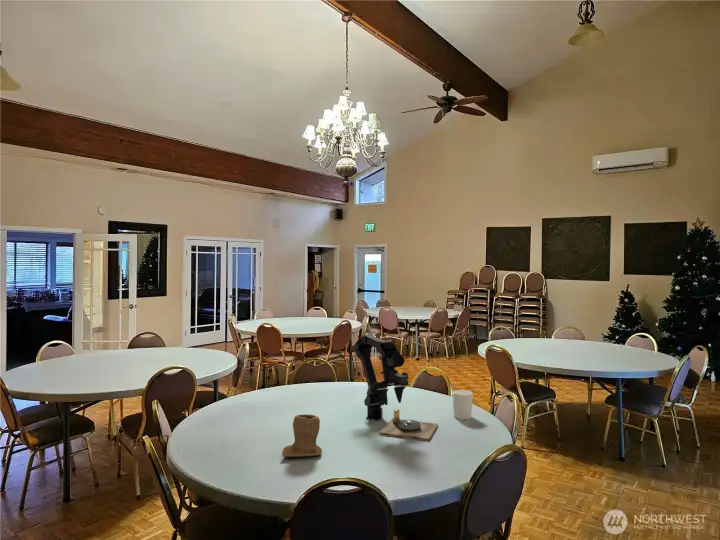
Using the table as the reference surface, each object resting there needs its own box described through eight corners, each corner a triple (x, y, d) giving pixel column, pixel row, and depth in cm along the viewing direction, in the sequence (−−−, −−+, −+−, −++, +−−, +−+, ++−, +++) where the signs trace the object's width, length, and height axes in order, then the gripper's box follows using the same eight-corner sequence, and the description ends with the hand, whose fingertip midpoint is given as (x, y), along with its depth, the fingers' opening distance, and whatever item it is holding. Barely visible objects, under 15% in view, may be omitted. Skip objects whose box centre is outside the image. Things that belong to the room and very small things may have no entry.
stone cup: (321, 447, 187) (321, 410, 187) (322, 459, 175) (322, 419, 175) (283, 449, 185) (283, 411, 185) (281, 461, 173) (281, 421, 173)
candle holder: (449, 418, 223) (449, 393, 223) (455, 412, 232) (455, 388, 232) (469, 421, 218) (469, 396, 218) (475, 415, 227) (475, 391, 227)
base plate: (379, 434, 201) (379, 431, 201) (391, 420, 220) (391, 417, 220) (429, 441, 193) (429, 438, 193) (437, 425, 212) (437, 423, 212)
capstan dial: (425, 428, 206) (425, 414, 206) (409, 433, 199) (409, 419, 199) (402, 420, 217) (402, 407, 217) (386, 424, 211) (386, 411, 211)
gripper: (388, 367, 199) (393, 405, 195) (415, 365, 212) (420, 400, 208) (369, 370, 206) (374, 406, 203) (396, 368, 220) (401, 401, 216)
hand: (393, 403), depth 207 cm, fingers open, 9 cm apart
